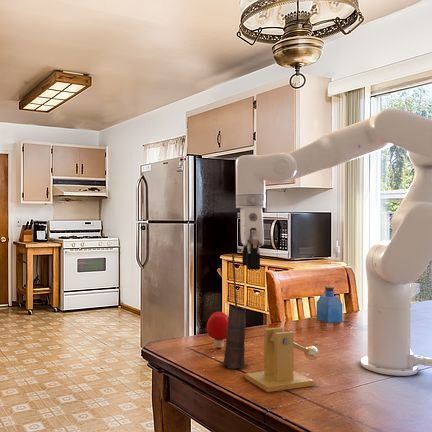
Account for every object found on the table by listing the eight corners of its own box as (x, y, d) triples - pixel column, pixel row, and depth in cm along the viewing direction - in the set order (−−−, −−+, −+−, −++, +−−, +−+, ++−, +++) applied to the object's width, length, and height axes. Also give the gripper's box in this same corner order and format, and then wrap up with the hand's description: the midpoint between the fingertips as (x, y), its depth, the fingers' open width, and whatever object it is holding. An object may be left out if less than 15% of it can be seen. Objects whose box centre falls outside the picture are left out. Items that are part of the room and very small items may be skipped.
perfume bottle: (316, 319, 172) (316, 286, 172) (330, 317, 174) (330, 285, 174) (327, 322, 166) (327, 288, 166) (342, 321, 168) (342, 288, 168)
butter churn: (263, 371, 114) (264, 256, 114) (226, 374, 113) (226, 257, 112) (247, 360, 123) (248, 253, 123) (213, 362, 122) (213, 254, 121)
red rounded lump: (231, 354, 129) (231, 317, 129) (205, 352, 130) (205, 316, 130) (231, 344, 138) (231, 310, 138) (207, 343, 139) (207, 309, 139)
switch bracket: (288, 372, 114) (288, 324, 114) (313, 385, 105) (313, 333, 105) (245, 378, 110) (245, 327, 110) (267, 392, 101) (267, 337, 101)
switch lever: (309, 359, 112) (314, 347, 113) (318, 363, 109) (323, 350, 110) (267, 341, 108) (272, 327, 109) (275, 344, 105) (280, 331, 106)
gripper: (270, 201, 115) (271, 271, 115) (259, 203, 132) (260, 264, 132) (239, 201, 116) (240, 271, 116) (232, 203, 133) (233, 263, 133)
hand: (250, 267), depth 124 cm, fingers open, 9 cm apart
